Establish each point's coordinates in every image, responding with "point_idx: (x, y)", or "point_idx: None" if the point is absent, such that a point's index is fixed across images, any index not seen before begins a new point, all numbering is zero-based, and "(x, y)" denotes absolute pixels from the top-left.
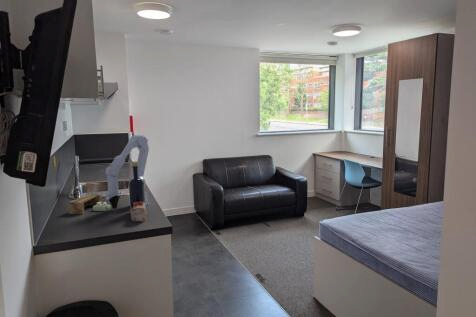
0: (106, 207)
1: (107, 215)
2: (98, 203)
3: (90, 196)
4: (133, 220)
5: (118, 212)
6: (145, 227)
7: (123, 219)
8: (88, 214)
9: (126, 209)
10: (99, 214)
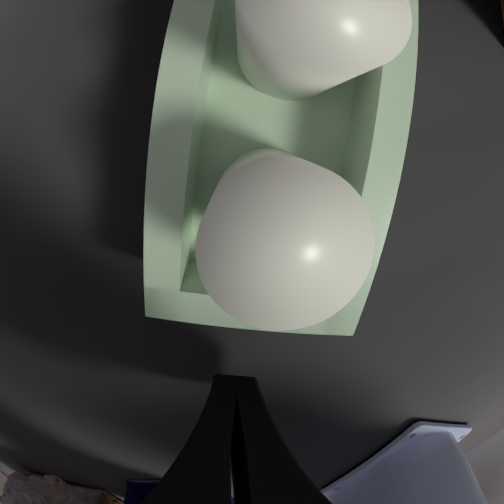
0: (154, 310)
1: (17, 344)
2: (236, 13)
3: None
4: (20, 475)
5: (140, 422)
6: None
7: (24, 444)
8: (4, 54)
9: None
10: (7, 228)
